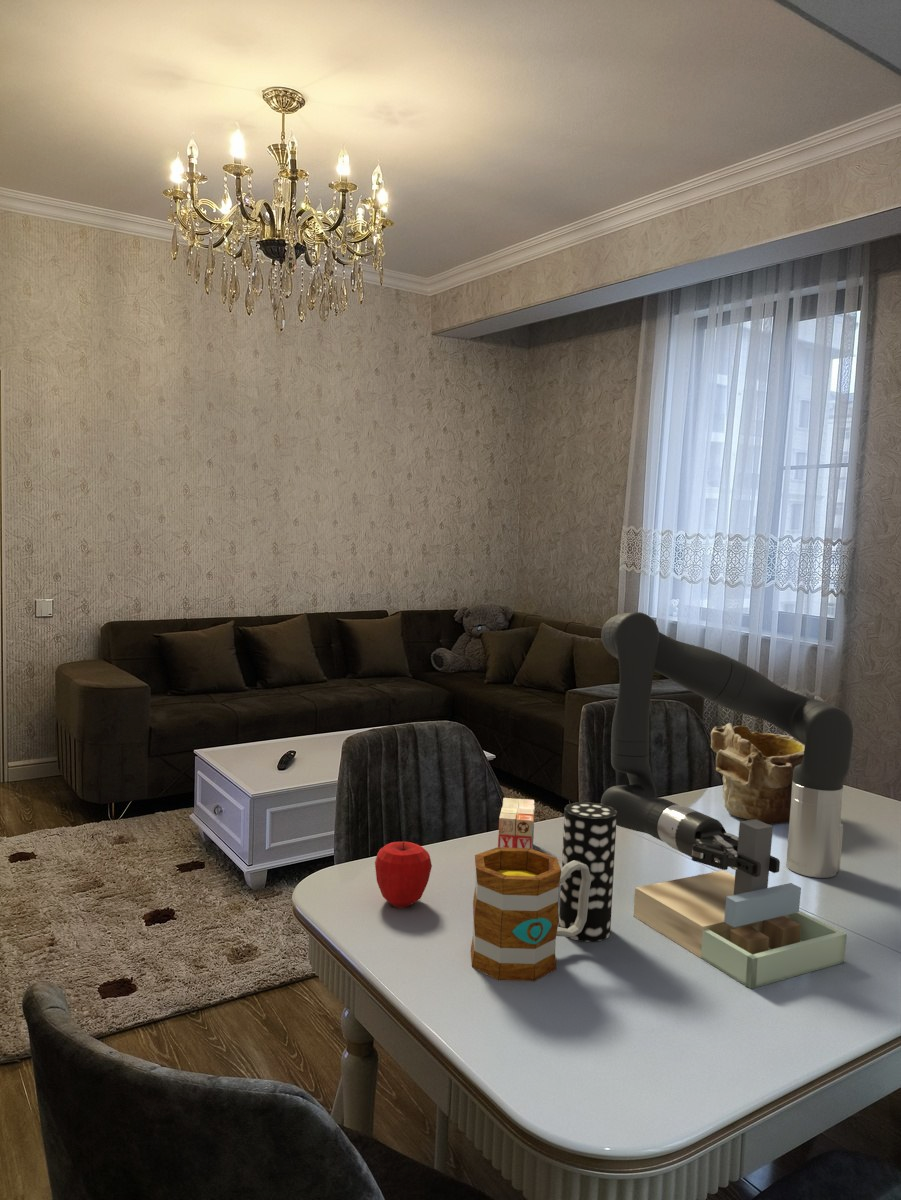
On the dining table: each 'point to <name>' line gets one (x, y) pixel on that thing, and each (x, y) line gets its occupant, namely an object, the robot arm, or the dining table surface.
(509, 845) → the stack of blocks
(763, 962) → the tray
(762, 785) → the ceramic vessel
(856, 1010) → the dining table surface
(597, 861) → the spotted tube
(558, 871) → the mug
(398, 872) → the apple
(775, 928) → the brown wood cube
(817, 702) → the robot arm
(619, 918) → the dining table surface
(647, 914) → the board
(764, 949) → the brown wooden cube
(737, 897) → the scraper
